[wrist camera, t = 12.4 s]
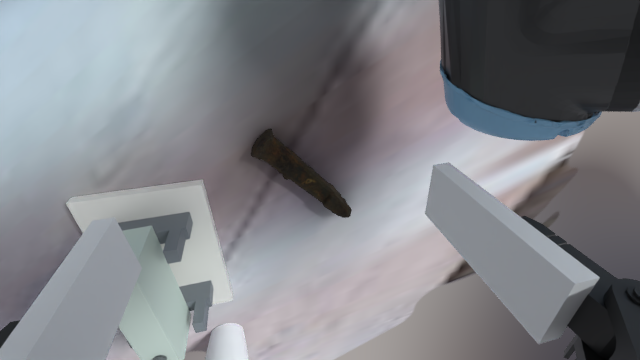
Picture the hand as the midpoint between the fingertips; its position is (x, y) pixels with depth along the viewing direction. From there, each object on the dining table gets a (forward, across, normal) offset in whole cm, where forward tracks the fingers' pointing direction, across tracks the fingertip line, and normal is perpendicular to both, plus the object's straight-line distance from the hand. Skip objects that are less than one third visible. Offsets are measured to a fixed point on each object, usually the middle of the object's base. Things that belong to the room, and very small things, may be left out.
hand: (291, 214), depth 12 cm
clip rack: (+27, -18, -24) cm, 41 cm away
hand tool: (+28, +5, -14) cm, 32 cm away
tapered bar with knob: (+22, -18, -24) cm, 37 cm away
